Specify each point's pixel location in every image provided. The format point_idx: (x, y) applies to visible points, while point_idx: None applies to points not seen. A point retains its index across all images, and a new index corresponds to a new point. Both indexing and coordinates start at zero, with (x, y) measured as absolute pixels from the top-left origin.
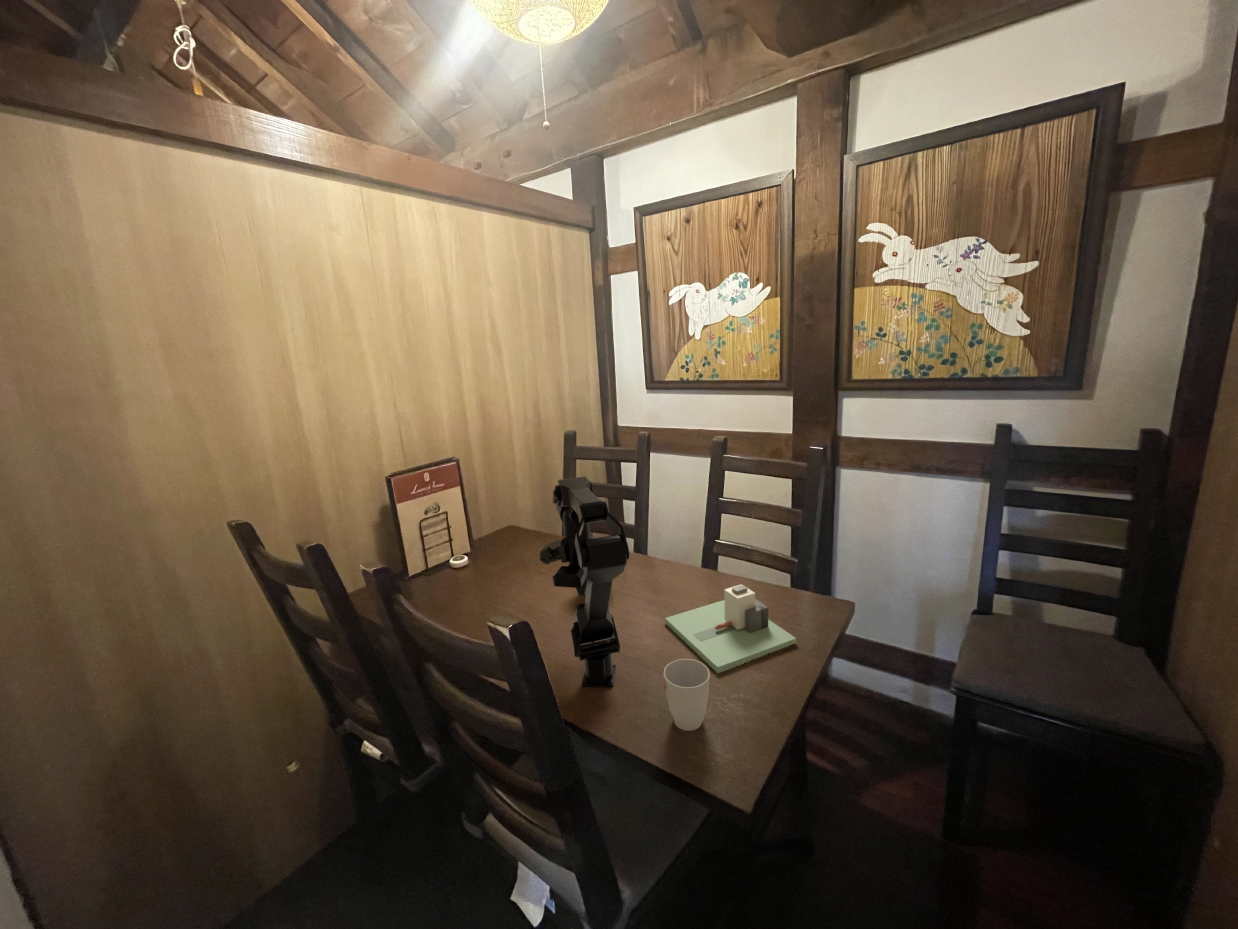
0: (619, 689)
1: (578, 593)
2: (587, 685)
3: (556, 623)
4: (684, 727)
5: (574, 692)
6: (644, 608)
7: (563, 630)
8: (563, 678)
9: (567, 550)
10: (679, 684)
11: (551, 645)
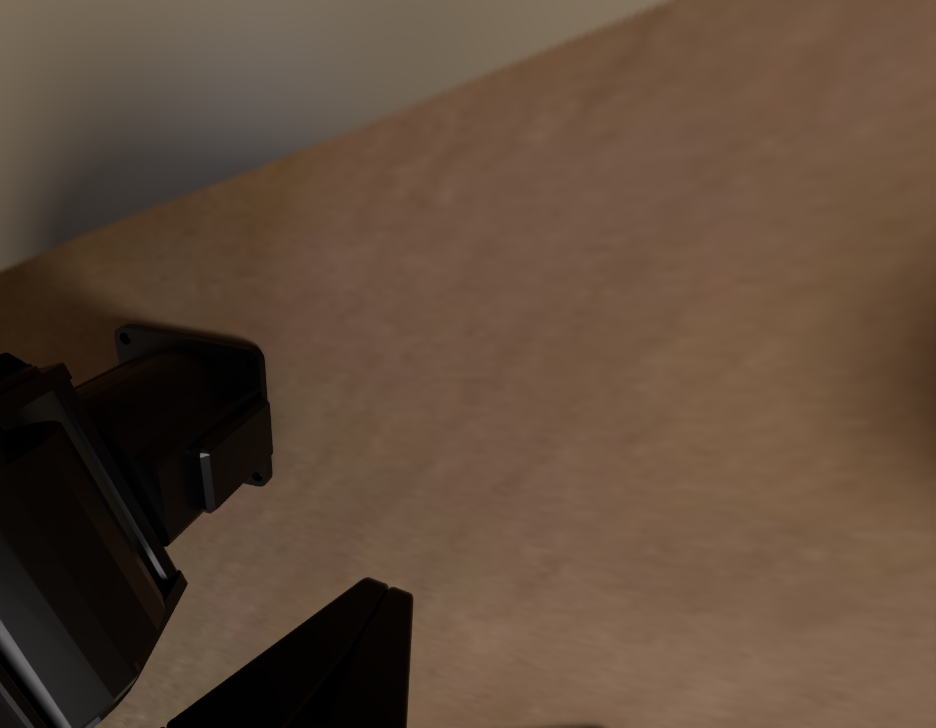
0: None
1: (333, 601)
2: (120, 351)
3: (838, 83)
4: None
5: (86, 287)
6: (836, 697)
7: (692, 168)
8: (168, 222)
9: None
10: None
11: (489, 92)
